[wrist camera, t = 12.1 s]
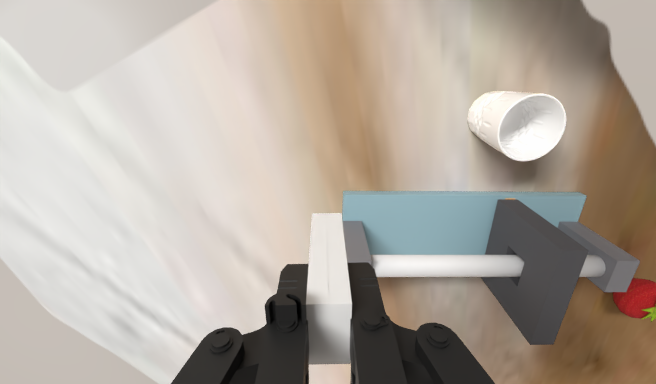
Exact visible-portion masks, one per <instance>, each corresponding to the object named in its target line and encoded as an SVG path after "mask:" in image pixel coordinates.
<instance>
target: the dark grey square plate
mask: <svg viewBox="0 0 656 384" xmlns="http://www.w3.org/2000/svg"><path fill="white" fill-rule="evenodd" d="M588 252H589V250H588V249H586V248H585V247H583V246H582V245H581V244H579V243H578V242H576V241H575V240H574V239H572V238H571V237H569V236H568V235H567V234H565V233H564V232H562V231H561V230H560V229H558V228H557V227H555V226H554V225H553V224H551V223H550V222H548V221H547V220H546V219H544V218H543V217H541V216H540V215H539V214H537V213H536V212H534V211H533V210H532V209H530V208H529V207H527V206H526V205H525V204H523V203H522V202H520V201H519V200H518V199H498V201H497V205H496V210H495V214H494V218H493V222H492V227H491V231H490V235H489V239H488V243H487V248H486V252H485V255H518V256H519V257H520V258H521V259H522V260H523V261H524V262H525V263H524V266H523V269H522V273H521V276H520V277H481V278H482V279H483V281H484V282H485V284H486V285H487V286H488V288H489V289H490V290H491V292H492V293H493V295H494V296H495V297H496V299H497V300H498V301H499V303H500V304H501V305H502V307H503V308H504V310H505V311H506V312H507V314H508V315H509V316H510V318H511V319H512V321H513V322H514V323H515V325H516V326H517V327H518V329H519V330H520V331H521V333H522V334H523V336H524V337H525V338H526V340H527V341H528V342H529V344H530V345H544V344H554V341H555V339H556V336H557V333H558V331H559V328H560V325H561V323H562V320H563V318H564V315H565V312H566V310H567V307H568V304H569V302H570V299H571V297H572V294H573V291H574V289H575V286H576V283H577V281H578V278H579V275H580V273H581V270H582V268H583V265H584V262H585V260H586V257H587V254H588Z"/></svg>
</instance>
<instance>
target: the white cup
mask: <svg viewBox="0 0 656 384" xmlns="http://www.w3.org/2000/svg"><path fill="white" fill-rule="evenodd" d="M467 121H468V124H469V127H470V130H471V131H472V132H473V133H474V134H475V135H476V136H477V137H479V138H480V139H481V140H483V141H484V142H486V143H487V144H489V145H490V146H491V147H493V148H495V149H496V150H498V151H499V152H501V153H503V154H504V155H506V156H507V157H509V158H511V159H513V160H516V161H531V160H535V159H538V158H540V157H542V156H544V155H545V154H547V153H548V152H550V151H551V150H552V149H553V148H554V147H555V146H556V145H557V143H558V142H559V141H560V139H561V137H562V136H563V133H564V131H565V127H566V112H565V109H564V107H563V105H562V104H561V102H560V101H559V100H558V99H556V98H555V97H553V96H551V95H548V94H540V93H529V92H514V91H493V92H488V93H485V94H483V95H482V96H480V97H479V98H478V99H476V100H475V101H474V103H473V105H472V106H471V108H470V109H469V114H468V120H467Z"/></svg>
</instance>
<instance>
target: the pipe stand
mask: <svg viewBox="0 0 656 384" xmlns="http://www.w3.org/2000/svg"><path fill="white" fill-rule="evenodd" d="M586 197H587V196H586V195H584V194H582V193H580V192H444V191H343V207H342V224H343V232H344V241H345V249H346V257H347V263H356V262H368V263H369V264H370V265H371V266H372V267H373V268H374V269H375V273H376V277H520V276H521V273H522V269H523V266H524V263H525V262H524V261H523V260H522V259H521V258H520V257H519V256H518V255H485V252H486V248H487V243H488V239H489V235H490V231H491V227H492V222H493V218H494V214H495V210H496V205H497V201H498V199H518V200H519V201H520V202H522V203H523V204H525V205H526V206H527V207H529V208H530V209H532V210H533V211H534V212H536V213H537V214H539V215H540V216H541V217H543V218H544V219H546V220H547V221H548V222H550V223H551V224H553V225H554V226H555V227H557V228H558V229H560V230H561V231H562V232H564V233H565V234H567V235H568V236H569V237H571V238H572V239H574V240H575V241H576V242H578V243H579V244H581V245H582V246H583V247H585V248H586V249H588V250H589V252H588V254H587V257H586V260H585V262H584V265H583V268H582V270H581V273H580V275H579V277H587V278H588V279H589V280H590V281H591V282H593V283H594V284H595V285H596V286H598V287H599V288H600V289H601V290H602V291H604V292H626V291H627V289H628V287H629V285H630V283H631V280H632V278H633V276H634V274H635V272H636V269H637V267H638V265H639V263H640V261H639V260H638V259H636V258H635V257H633V256H631V255H630V254H628V253H627V252H625V251H623V250H622V249H620V248H619V247H617V246H616V245H614V244H612V243H611V242H609V241H608V240H606V239H605V238H603V237H601V236H600V235H598V234H597V233H595V232H594V231H592V230H590V229H589V228H587V227H586V226H584V225H582V224H581V223H579V222H578V219H579V217H580V214H581V211H582V208H583V205H584V202H585V199H586Z"/></svg>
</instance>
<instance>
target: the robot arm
mask: <svg viewBox="0 0 656 384" xmlns="http://www.w3.org/2000/svg"><path fill="white" fill-rule="evenodd" d="M265 312H266V322H267V324H266V325H265V326H264V327H262V328H261V329H259V330H257V331H254V332H251V333H247V334H244V335H242V334H241V333H240V332H239V331H238V330H237V329H234V328H220V329H217V330H214V331H213V332H211V333H209V334H208V335H207V336H206V337H205V338H204V339H203V340H202V341H201V343H200V344H199V345H198V347H197V348H196V350H195V351H194V352H193V354H192V355H191V357H190V358H189V359H188V361H187V362H186V363H185V365H184V366H183V368H182V369H181V370H180V372H179V373H178V375H177V376H176V377H175V379H174V380H173V382H172V383H171V384H309V370H308V367H309V364H350V360H351V384H495V383H494V382H493V380H492V379H491V378H490V377H489V375H488V374H487V373H486V372H485V370H484V369H483V368H482V366H481V365H480V364H479V363H478V361H477V360H476V359H475V358H474V356H473V355H472V354H471V352H470V351H469V350H468V349H467V347H466V346H465V345H464V344H463V342H462V341H461V340H460V339H459V337H458V336H457V335H456V334H455V333H454V332H453V331H452V330H451V329H450V328H448V327H446V326H444V325H442V324H437V323H426V324H424V325H421V326H420V327H419V329H418V330H417V331H415V330H411V329H407V328H403V327H400V326H398V325H397V324H395V323H393V322H392V321H391V320H390V318H389V317H388V316H387V315H386V313H385V309H384V305H383V301H382V297H381V293H380V289H379V286H378V281H377V277H376V273H375V269H374V268H373V267H372V266H371V265H370V264H369V263H368V262H356V263H347V257H346V249H345V241H344V232H343V224H342V215H341V213H314V214H312V222H311V237H310V251H309V264H287V265H286V266H285V268H284V269H283V270H282V271H281V274H280V279H279V285H278V290H277V294H275V295H273V296H272V297H270V298H269V299H268V300H267V302H266V304H265Z"/></svg>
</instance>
